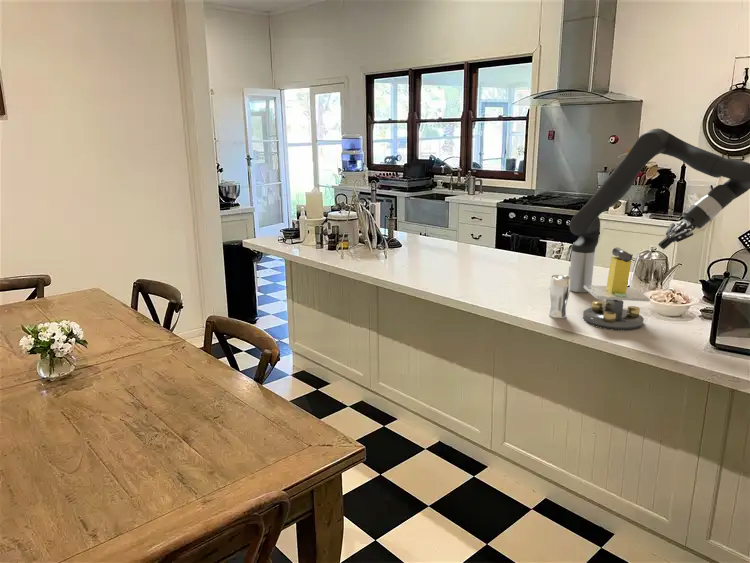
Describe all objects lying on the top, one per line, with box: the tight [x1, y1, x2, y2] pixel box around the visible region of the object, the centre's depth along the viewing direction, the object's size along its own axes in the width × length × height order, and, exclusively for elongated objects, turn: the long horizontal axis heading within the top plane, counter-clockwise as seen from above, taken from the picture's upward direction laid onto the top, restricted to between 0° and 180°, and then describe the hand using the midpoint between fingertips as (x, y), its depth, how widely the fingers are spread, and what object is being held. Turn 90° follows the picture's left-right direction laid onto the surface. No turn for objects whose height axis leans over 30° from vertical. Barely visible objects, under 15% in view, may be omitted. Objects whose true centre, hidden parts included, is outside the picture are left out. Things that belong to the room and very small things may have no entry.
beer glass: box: [548, 274, 571, 320], centre depth 202 cm, size 7×7×15 cm
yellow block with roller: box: [584, 247, 651, 302], centre depth 194 cm, size 14×18×16 cm
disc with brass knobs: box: [582, 299, 645, 331], centre depth 197 cm, size 20×20×10 cm
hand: (660, 247), depth 190 cm, fingers closed
